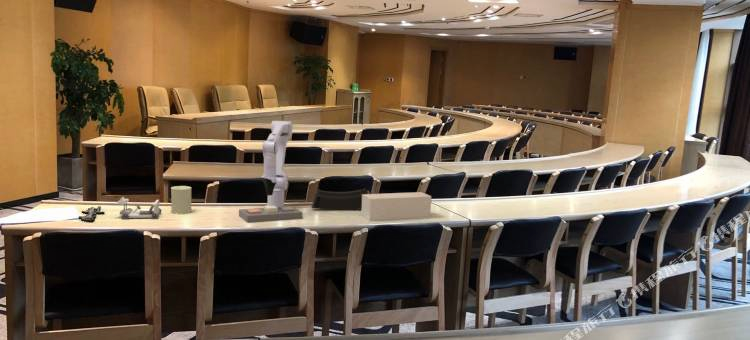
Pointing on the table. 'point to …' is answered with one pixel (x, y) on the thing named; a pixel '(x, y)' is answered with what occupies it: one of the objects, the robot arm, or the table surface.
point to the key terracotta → (253, 211)
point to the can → (181, 199)
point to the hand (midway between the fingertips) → (269, 195)
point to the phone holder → (139, 214)
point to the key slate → (286, 209)
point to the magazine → (339, 200)
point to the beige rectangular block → (396, 206)
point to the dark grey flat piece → (91, 214)
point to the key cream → (270, 209)
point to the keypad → (270, 215)
